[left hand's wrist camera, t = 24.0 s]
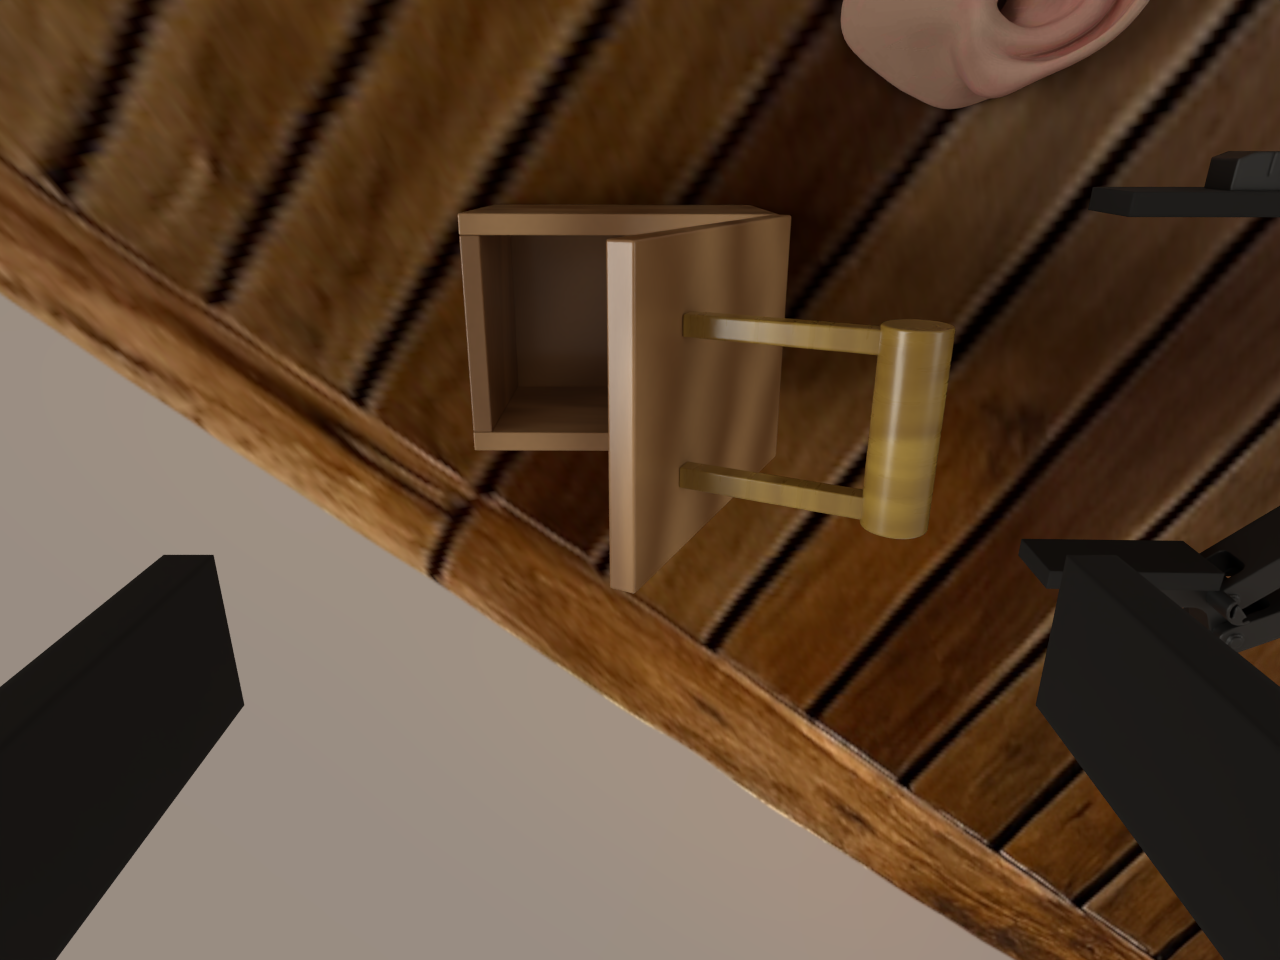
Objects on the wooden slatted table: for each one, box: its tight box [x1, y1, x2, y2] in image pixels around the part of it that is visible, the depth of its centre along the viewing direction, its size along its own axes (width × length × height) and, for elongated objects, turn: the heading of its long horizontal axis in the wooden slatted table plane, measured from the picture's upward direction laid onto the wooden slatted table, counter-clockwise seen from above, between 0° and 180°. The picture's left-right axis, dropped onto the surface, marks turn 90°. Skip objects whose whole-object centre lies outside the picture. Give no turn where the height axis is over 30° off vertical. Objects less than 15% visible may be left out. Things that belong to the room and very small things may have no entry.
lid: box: [606, 215, 955, 593], centre depth 27 cm, size 14×10×8 cm
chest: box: [458, 204, 779, 451], centre depth 39 cm, size 13×10×9 cm
